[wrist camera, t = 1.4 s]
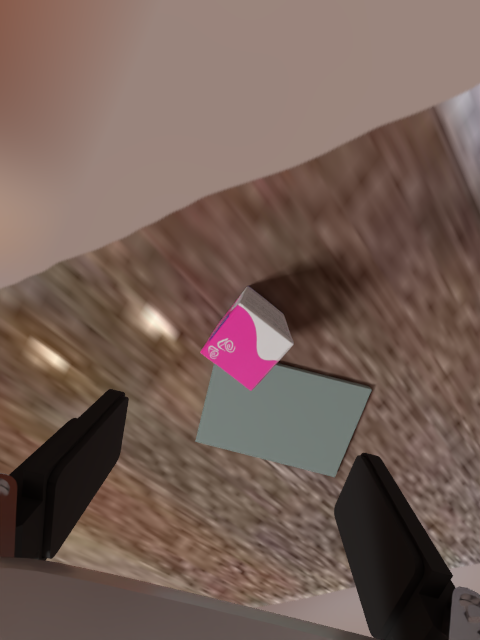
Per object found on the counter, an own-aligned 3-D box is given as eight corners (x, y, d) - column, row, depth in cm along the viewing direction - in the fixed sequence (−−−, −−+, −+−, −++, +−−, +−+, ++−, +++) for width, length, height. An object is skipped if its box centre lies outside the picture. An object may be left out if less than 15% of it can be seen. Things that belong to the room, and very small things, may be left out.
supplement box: (246, 283, 32) (241, 300, 20) (284, 313, 32) (299, 345, 21) (217, 320, 33) (198, 354, 22) (254, 348, 34) (253, 395, 22)
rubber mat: (369, 386, 34) (371, 389, 33) (333, 472, 37) (334, 477, 37) (218, 347, 34) (217, 350, 33) (196, 437, 37) (195, 441, 37)
